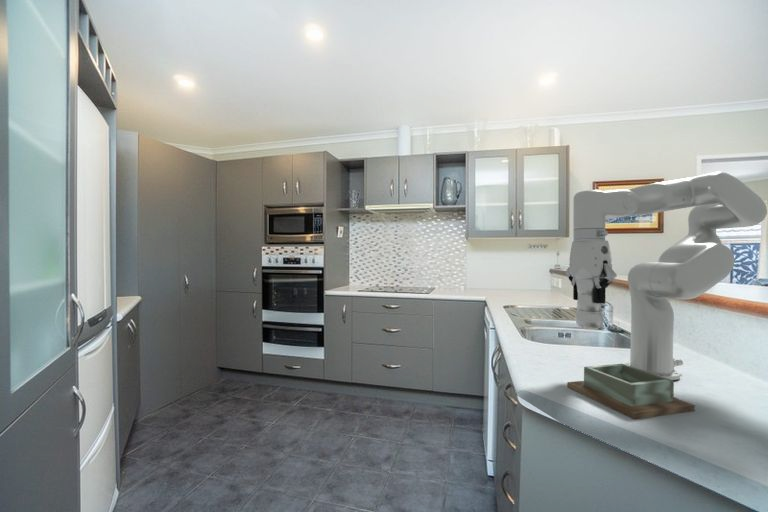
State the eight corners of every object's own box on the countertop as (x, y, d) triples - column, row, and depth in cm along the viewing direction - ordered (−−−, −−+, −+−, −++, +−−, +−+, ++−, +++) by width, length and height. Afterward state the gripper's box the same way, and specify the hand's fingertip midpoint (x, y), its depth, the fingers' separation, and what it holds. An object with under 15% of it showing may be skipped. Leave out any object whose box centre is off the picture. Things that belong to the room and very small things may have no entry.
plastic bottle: (607, 331, 89) (608, 256, 89) (579, 330, 90) (580, 256, 90) (597, 326, 95) (597, 255, 95) (571, 325, 97) (571, 255, 96)
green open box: (620, 381, 89) (620, 360, 89) (694, 410, 72) (695, 384, 72) (567, 387, 84) (567, 364, 84) (634, 419, 68) (634, 390, 68)
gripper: (629, 234, 85) (629, 305, 85) (574, 237, 102) (574, 297, 102) (606, 233, 83) (606, 306, 83) (554, 237, 100) (553, 298, 100)
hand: (588, 300), depth 93 cm, fingers closed on plastic bottle, 6 cm apart
